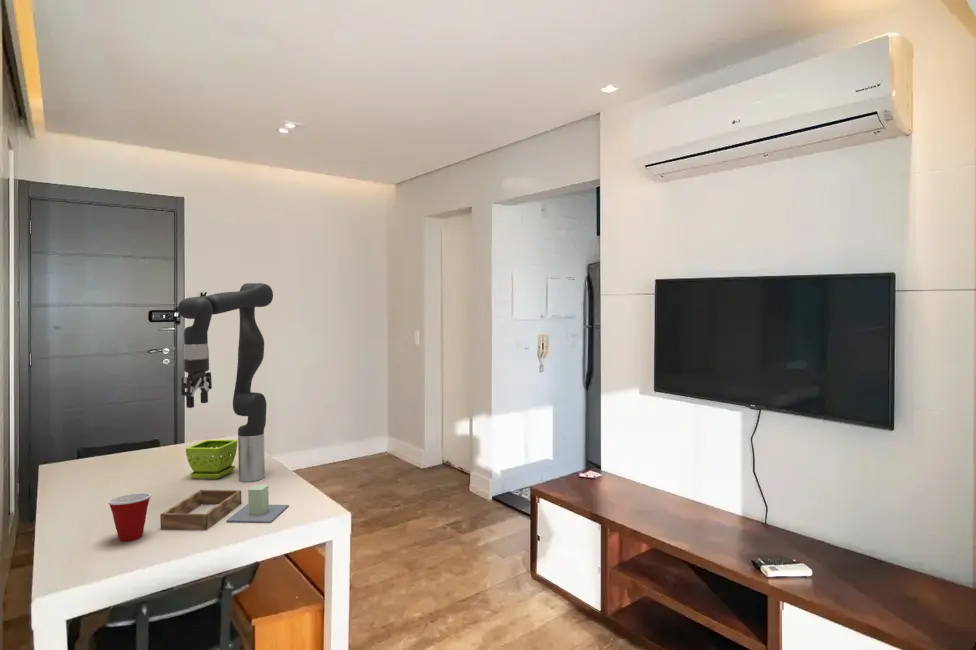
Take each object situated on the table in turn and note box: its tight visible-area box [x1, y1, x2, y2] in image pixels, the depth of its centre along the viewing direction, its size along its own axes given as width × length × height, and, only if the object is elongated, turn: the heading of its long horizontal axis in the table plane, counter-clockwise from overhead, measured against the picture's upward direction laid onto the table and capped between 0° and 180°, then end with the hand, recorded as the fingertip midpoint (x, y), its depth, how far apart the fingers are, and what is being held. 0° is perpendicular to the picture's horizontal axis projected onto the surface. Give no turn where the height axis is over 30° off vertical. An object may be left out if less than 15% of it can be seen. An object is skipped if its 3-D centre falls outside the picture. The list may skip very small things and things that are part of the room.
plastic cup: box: [106, 492, 152, 542], centre depth 164 cm, size 11×11×12 cm
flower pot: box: [185, 439, 238, 480], centre depth 222 cm, size 14×14×13 cm
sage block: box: [247, 484, 270, 515], centre depth 182 cm, size 4×4×8 cm
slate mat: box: [225, 503, 290, 524], centre depth 182 cm, size 14×14×1 cm
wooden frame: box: [159, 489, 242, 531], centre depth 180 cm, size 22×14×4 cm, turn 178°
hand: (197, 405), depth 191 cm, fingers open, 8 cm apart
